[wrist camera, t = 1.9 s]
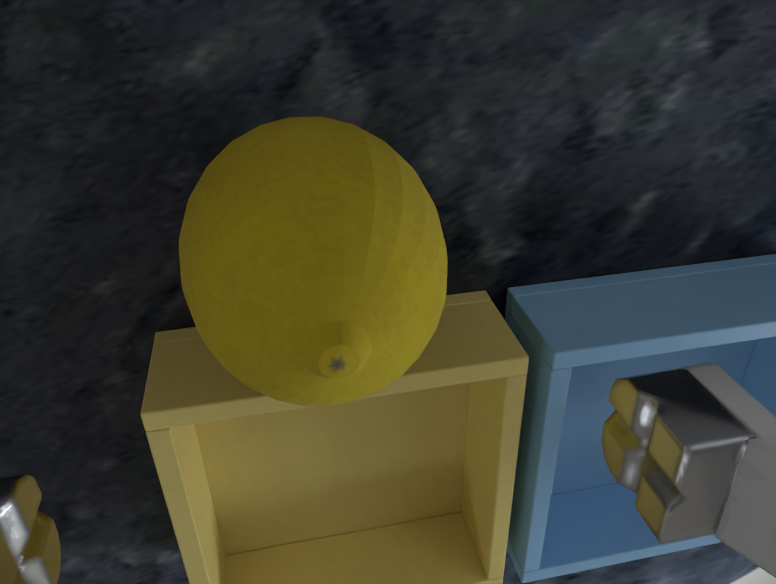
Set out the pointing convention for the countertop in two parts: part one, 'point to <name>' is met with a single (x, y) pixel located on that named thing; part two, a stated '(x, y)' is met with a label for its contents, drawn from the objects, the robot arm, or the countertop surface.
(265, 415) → the yellow bin
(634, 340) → the blue bin
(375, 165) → the lemon
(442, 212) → the countertop surface
